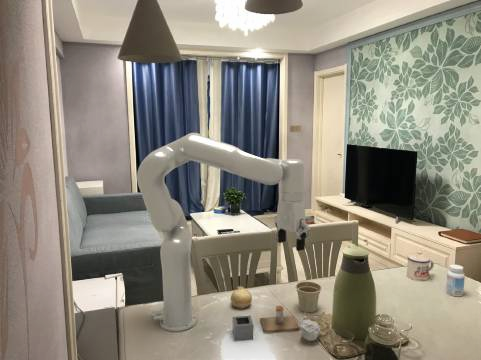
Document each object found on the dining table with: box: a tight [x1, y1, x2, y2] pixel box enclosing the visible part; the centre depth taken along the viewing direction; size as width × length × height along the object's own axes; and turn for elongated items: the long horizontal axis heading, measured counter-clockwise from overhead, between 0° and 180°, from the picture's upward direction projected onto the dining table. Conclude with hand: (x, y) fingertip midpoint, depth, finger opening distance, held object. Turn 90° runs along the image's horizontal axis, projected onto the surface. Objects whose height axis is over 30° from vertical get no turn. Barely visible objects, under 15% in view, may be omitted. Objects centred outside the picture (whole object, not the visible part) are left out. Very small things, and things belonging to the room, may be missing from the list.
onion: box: [230, 285, 253, 309], centre depth 147 cm, size 8×8×7 cm
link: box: [232, 315, 254, 342], centre depth 128 cm, size 6×6×5 cm
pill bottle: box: [445, 264, 466, 297], centre depth 155 cm, size 6×6×11 cm
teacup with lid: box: [406, 250, 435, 282], centre depth 171 cm, size 12×9×12 cm
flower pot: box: [295, 280, 322, 313], centre depth 144 cm, size 9×9×9 cm
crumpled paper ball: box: [299, 318, 321, 342], centre depth 124 cm, size 6×7×7 cm
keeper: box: [259, 305, 301, 334], centre depth 133 cm, size 12×8×6 cm, turn 97°
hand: (290, 245), depth 133 cm, fingers open, 9 cm apart
